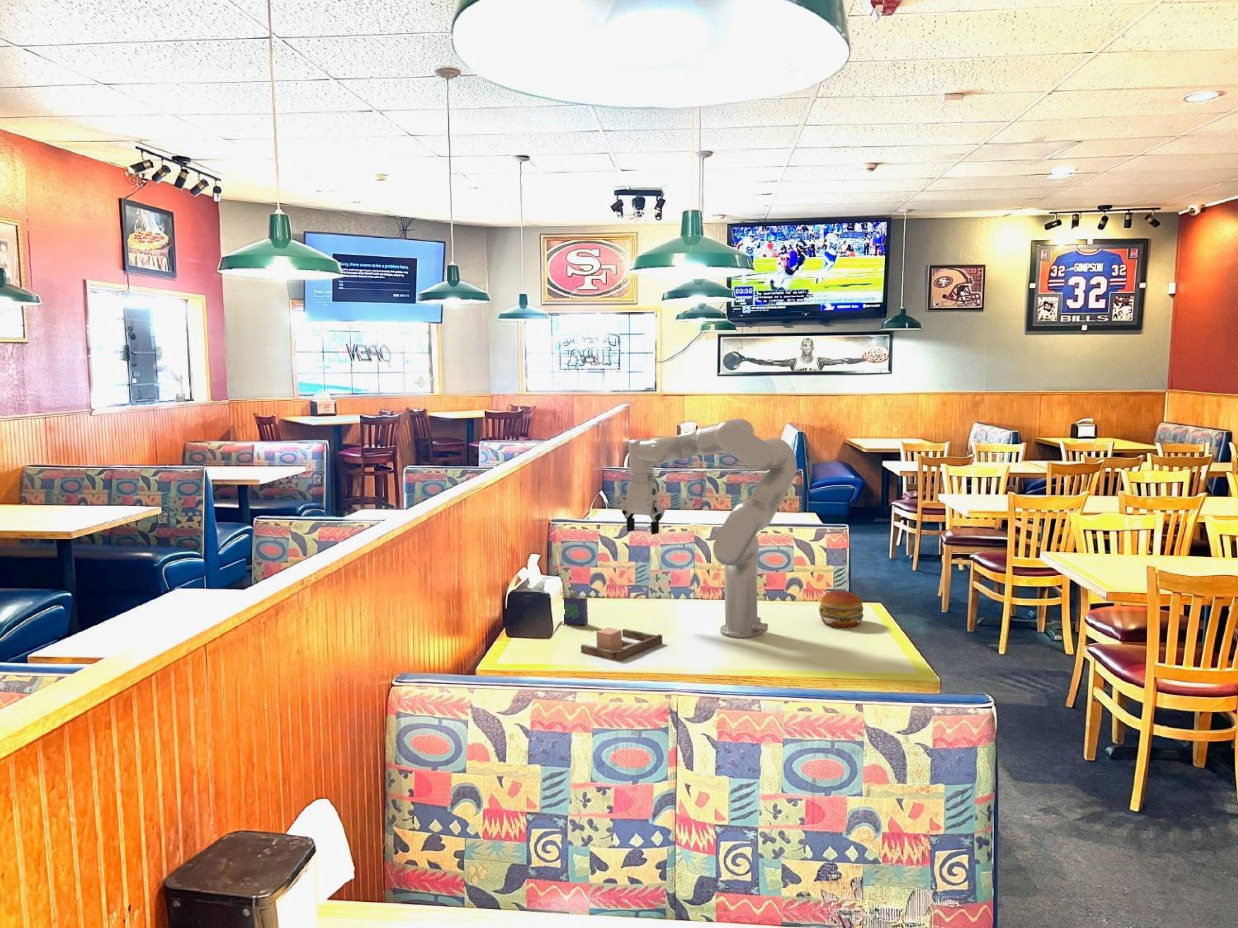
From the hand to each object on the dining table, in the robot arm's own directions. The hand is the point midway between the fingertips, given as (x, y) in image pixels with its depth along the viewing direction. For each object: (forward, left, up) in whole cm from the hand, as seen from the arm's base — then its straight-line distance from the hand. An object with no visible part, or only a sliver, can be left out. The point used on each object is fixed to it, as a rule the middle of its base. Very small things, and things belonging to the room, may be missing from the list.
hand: (642, 532), depth 278 cm
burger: (-52, -31, -29) cm, 67 cm away
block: (-11, +31, -28) cm, 43 cm away
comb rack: (-11, +26, -28) cm, 40 cm away
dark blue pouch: (+16, +16, -29) cm, 36 cm away
